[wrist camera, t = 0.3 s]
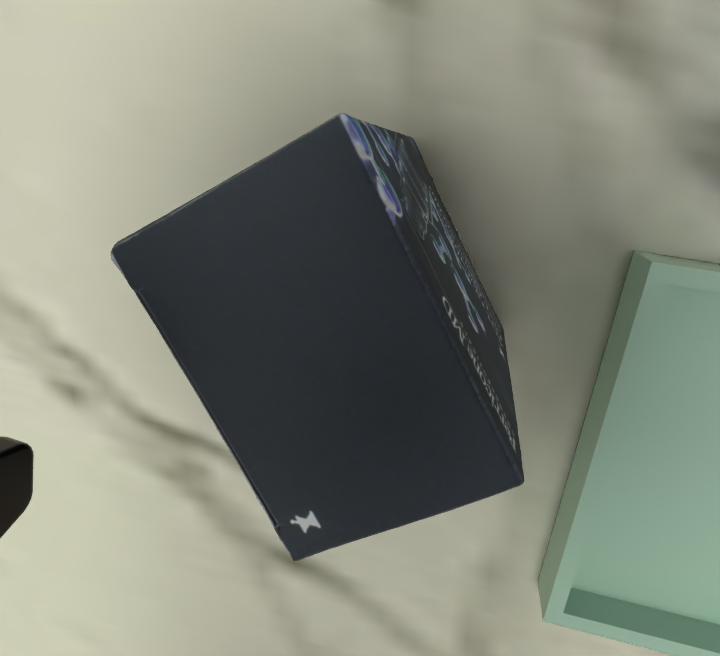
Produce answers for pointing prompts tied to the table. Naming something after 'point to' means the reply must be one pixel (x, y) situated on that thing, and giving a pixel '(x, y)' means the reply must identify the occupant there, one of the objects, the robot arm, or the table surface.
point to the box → (335, 336)
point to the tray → (647, 473)
